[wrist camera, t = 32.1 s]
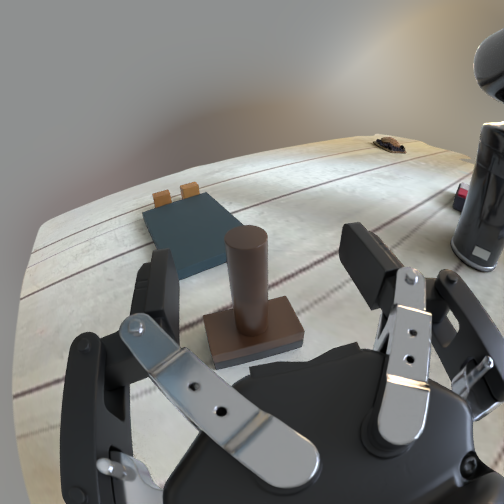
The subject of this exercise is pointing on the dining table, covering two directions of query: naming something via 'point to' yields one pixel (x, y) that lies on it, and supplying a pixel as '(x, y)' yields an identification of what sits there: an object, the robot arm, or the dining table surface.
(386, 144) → the brown domed lump
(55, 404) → the dining table surface
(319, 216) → the dining table surface
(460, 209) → the red-topped box
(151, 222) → the tray
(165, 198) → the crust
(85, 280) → the dining table surface
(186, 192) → the brown wooden block
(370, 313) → the dining table surface
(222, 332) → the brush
